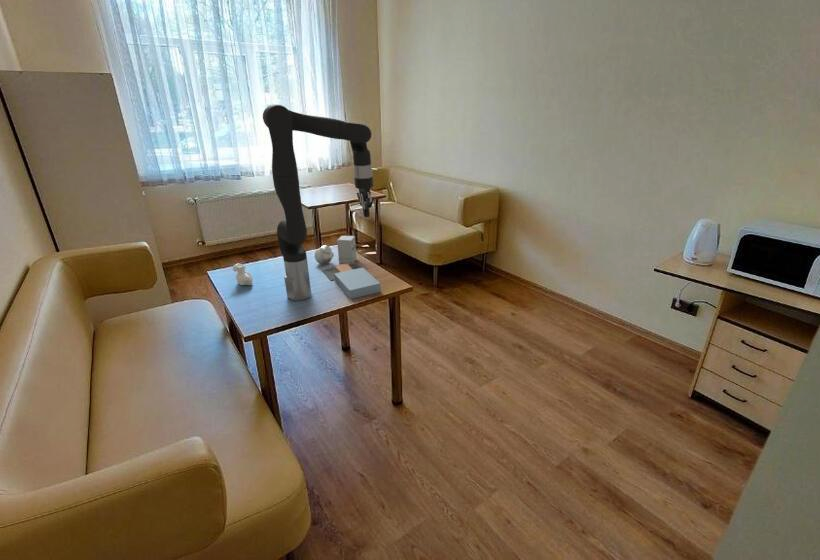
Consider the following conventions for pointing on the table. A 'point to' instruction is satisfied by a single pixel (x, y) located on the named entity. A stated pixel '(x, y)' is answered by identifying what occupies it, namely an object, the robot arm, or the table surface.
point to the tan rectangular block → (342, 268)
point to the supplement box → (346, 249)
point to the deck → (357, 283)
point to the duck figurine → (242, 275)
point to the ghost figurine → (324, 255)
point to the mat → (331, 271)
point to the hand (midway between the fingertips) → (366, 216)
